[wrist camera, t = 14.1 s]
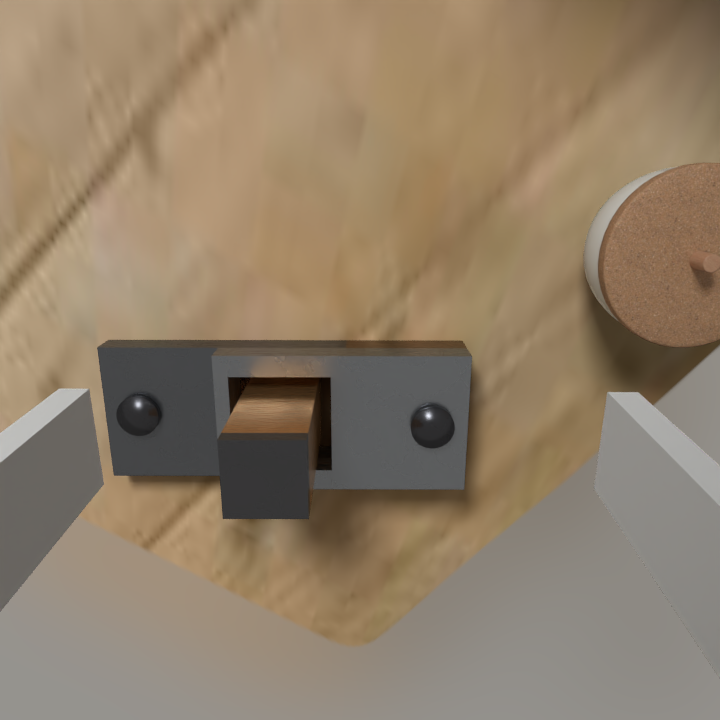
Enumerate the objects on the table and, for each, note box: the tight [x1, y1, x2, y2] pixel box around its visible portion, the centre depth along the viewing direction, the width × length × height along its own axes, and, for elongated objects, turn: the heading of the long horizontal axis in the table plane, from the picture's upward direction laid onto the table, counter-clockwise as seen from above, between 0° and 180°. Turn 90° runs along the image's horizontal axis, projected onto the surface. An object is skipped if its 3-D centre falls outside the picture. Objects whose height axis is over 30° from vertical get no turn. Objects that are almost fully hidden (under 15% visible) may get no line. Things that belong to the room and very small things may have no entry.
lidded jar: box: [583, 163, 720, 348], centre depth 38 cm, size 11×11×9 cm
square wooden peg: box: [217, 377, 321, 519], centre depth 40 cm, size 5×5×12 cm
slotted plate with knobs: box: [97, 340, 472, 490], centre depth 44 cm, size 10×26×5 cm, turn 90°
